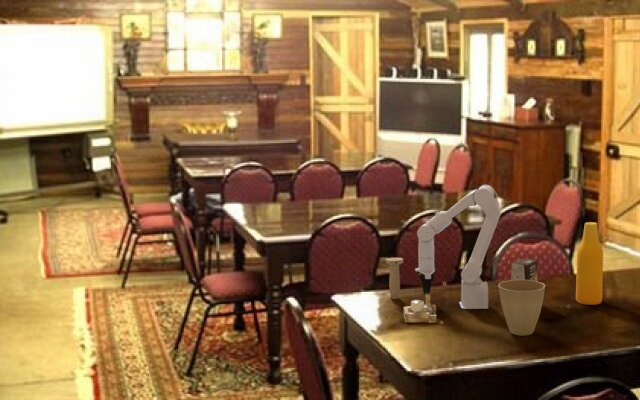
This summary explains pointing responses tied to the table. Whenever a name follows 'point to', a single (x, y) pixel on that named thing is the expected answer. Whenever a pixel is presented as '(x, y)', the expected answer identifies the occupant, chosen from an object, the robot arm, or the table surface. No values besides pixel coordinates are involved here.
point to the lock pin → (428, 303)
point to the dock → (420, 315)
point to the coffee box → (524, 270)
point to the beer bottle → (589, 267)
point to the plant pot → (521, 304)
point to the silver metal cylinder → (417, 306)
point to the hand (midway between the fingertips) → (426, 293)
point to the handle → (394, 276)
